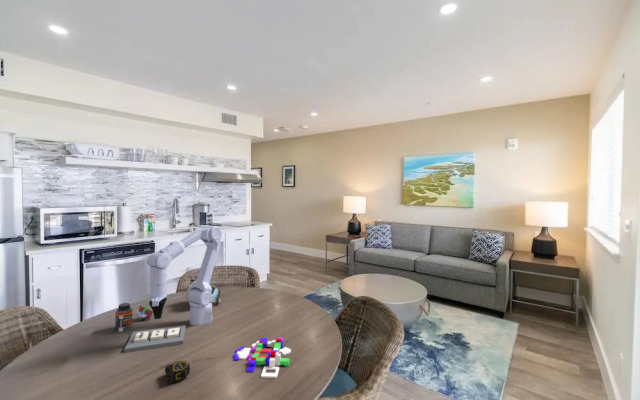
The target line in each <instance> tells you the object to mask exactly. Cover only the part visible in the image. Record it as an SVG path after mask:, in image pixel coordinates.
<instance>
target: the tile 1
mask: <svg viewBox="0 0 640 400" xmlns="http://www.w3.org/2000/svg"><path fill="white" fill-rule="evenodd" d="M164 337H165V335H164V329H163V330H155V331H153V332H152V335H151V339H150V341H153V340H160V339H164Z"/></svg>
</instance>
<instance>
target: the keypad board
mask: <svg viewBox="0 0 640 400" xmlns="http://www.w3.org/2000/svg"><path fill="white" fill-rule="evenodd" d="M172 328H180V333H179V337H175V338H168V339H167V333H168V329H172ZM163 329H164V338H163V339H160V340H153V341H150V339H151V335H152V332H153V331H155V330H163ZM148 331H149V338H148V340H147V341H146V342H139V343H134V338H135V336H136V334H137V333H141V332H148ZM185 332H186V325H185V324H184V325H176V326H168V327H159V328H152V329H145V330H144V329H143V330H138V331H133V332H132V333H131V335H130V338H129V340H128V341H127V343H126V346H125V347H124V350H123V351H124V353H130V352H131V353H132V352H138V351H145V350H151V349H152V350H153V349H158V348H165V347H171V346H178V345H184V340H185Z"/></svg>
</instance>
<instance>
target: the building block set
mask: <svg viewBox="0 0 640 400" xmlns="http://www.w3.org/2000/svg"><path fill="white" fill-rule="evenodd" d="M283 338H284V337H283V336H278V337H277V338H276V339H272V340H268V338H267V337H260V339H259V340H257V341H256V343H252V344H251V347H245V346H240V347H239V348H237V349H236V350H235V353H233V355H232V359H233V361H237V362H239V360H247V365H248V366H247V368H246V373H254V371H255V369H256V366H261V365H264V367H263V369H262V371H261V374H260V379H261V378H262V379H263V378H266V379H277V378H278V375H279V371H280V367H281V366H282V365H283V366H284V367H289V366H290V358H289V357H288V358H287V357H285V358H284V357H282V355H283V356H286V355H289V354H291V351H292V349H291V348H289V347H287V346H285V347H284V339H283ZM268 347H269V348H268ZM262 353H263V355H262ZM265 354H267V355H265ZM267 371H275V372H267Z"/></svg>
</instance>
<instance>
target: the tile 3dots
mask: <svg viewBox="0 0 640 400" xmlns="http://www.w3.org/2000/svg"><path fill="white" fill-rule="evenodd" d="M148 338H149V331H148V332H141V333H137V334H136V336H135V338H134V343H139V342H146V341H148Z"/></svg>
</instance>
